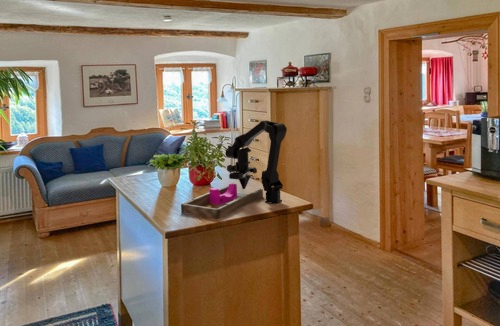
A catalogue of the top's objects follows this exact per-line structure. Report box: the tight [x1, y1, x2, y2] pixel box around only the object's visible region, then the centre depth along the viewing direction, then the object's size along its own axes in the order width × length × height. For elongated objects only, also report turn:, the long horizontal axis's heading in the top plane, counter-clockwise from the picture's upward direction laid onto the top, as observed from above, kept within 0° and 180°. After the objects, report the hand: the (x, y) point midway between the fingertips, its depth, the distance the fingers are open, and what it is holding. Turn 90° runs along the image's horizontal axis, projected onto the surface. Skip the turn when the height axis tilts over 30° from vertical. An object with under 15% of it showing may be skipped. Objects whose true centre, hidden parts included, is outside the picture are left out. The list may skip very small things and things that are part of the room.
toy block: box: [209, 182, 238, 206], centre depth 229 cm, size 15×6×8 cm, turn 134°
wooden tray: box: [180, 185, 264, 220], centre depth 223 cm, size 21×40×4 cm, turn 149°
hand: (243, 188), depth 238 cm, fingers closed
